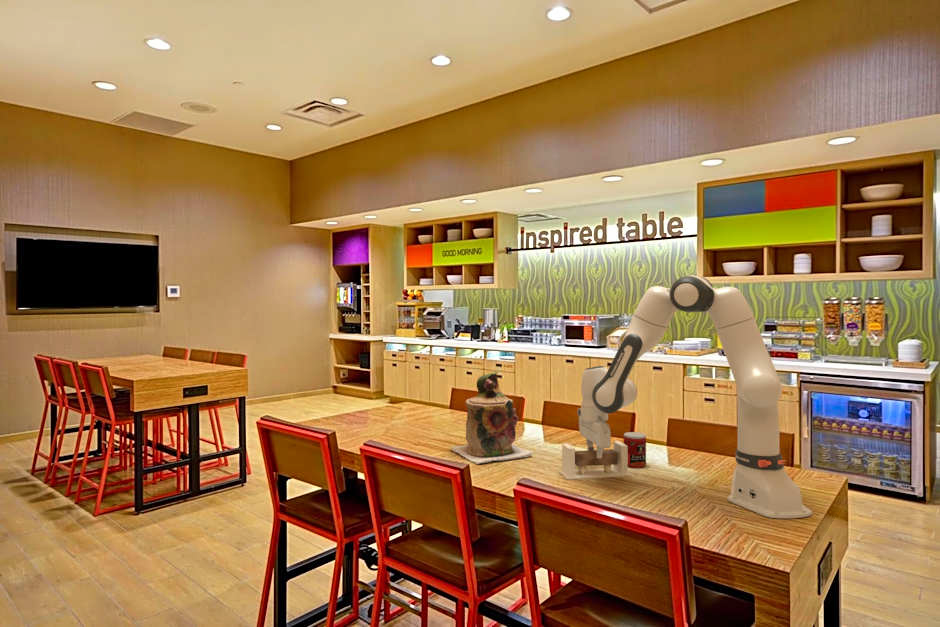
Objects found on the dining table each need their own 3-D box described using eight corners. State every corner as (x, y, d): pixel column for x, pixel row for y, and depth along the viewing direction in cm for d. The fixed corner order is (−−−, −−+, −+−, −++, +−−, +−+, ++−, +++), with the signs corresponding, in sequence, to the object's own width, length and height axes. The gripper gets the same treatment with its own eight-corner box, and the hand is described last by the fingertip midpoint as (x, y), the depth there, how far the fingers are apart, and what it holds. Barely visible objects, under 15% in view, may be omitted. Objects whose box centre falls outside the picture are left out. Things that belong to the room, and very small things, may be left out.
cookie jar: (448, 450, 230) (447, 369, 230) (502, 443, 242) (501, 366, 241) (477, 466, 209) (477, 376, 208) (535, 457, 220) (535, 372, 219)
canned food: (631, 469, 204) (631, 437, 203) (619, 463, 211) (619, 432, 211) (650, 467, 206) (650, 436, 205) (638, 461, 213) (638, 431, 213)
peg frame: (620, 469, 204) (620, 440, 203) (630, 476, 196) (630, 446, 195) (559, 472, 200) (559, 443, 200) (567, 479, 192) (567, 449, 192)
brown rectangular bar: (577, 466, 194) (577, 454, 194) (572, 462, 199) (572, 451, 199) (617, 464, 197) (617, 452, 197) (612, 460, 201) (612, 449, 201)
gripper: (615, 419, 188) (615, 462, 188) (592, 408, 208) (592, 447, 208) (597, 420, 187) (597, 463, 187) (575, 409, 207) (575, 447, 207)
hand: (594, 454), depth 198 cm, fingers open, 6 cm apart
